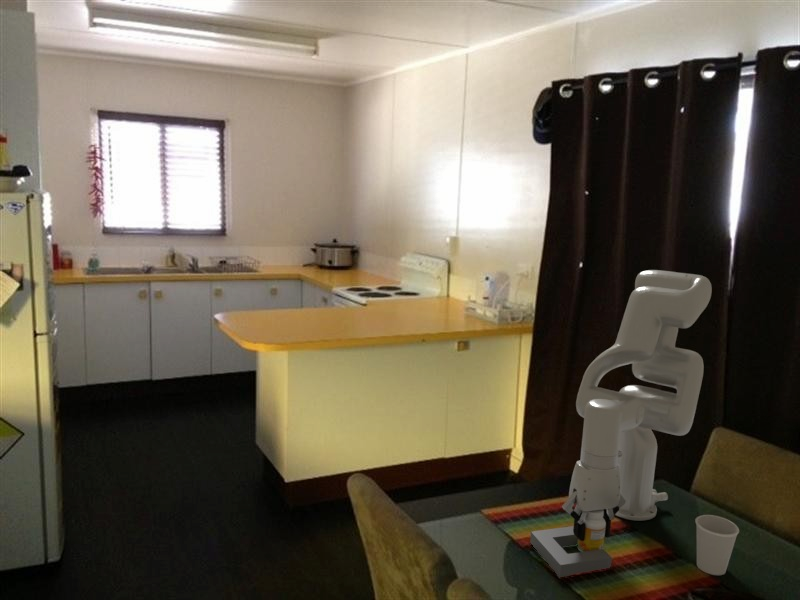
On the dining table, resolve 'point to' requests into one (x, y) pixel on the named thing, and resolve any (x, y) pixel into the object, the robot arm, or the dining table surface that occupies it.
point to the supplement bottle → (593, 531)
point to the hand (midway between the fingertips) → (591, 535)
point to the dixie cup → (714, 543)
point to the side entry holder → (562, 562)
